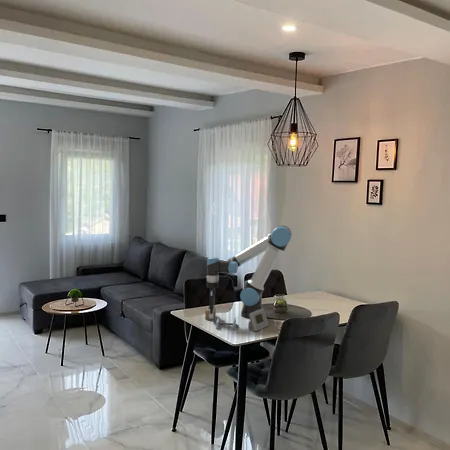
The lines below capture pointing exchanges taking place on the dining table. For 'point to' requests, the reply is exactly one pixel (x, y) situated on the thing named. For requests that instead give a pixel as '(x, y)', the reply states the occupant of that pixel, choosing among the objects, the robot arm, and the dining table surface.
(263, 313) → the digital clock
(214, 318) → the block
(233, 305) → the dining table surface
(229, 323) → the channel
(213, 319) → the coaster
